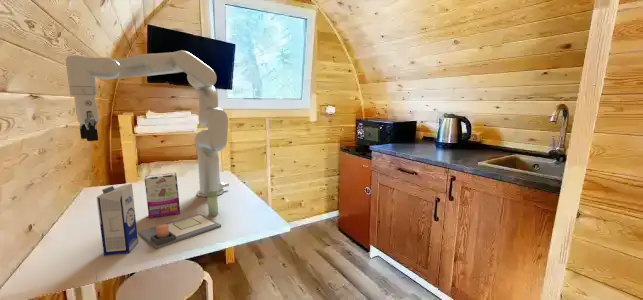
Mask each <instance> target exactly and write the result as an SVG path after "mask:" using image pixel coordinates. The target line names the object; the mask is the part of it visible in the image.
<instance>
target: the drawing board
mask: <svg viewBox="0 0 643 300" xmlns="http://www.w3.org/2000/svg"><path fill="white" fill-rule="evenodd" d="M166 224H168V225H169V235H168V236H166V237H162V238H159V237H157V234H156V227H157V226H158V225H157V226H154V227H150V228H147V229H143V230H140V231H137V234H139V235H140V236H141V238H143V239H144V240H145V241H146V242H148V243H149V244H150V246H152V247H153V248H154V249H156V250H157V249H160V248H162V247H163V248H164V247H165V246H169V245H172V244H174V243H179V242H180V241H183V240H186V239H190V238H191V237H192V238H193V237H195V236H198V235H200V234H204V233H206V232H209V231H214V230H215V229H218V228H221V227H222V224H221V223H218V221H215V220H214V219H211V218H209V217H208V216H205V215H203V214H201V213H197V214H194V215H191V216H188V217H184V218H181V219H178V220H175V221H170V222H167V223H166Z"/></svg>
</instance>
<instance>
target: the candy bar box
mask: <svg viewBox="0 0 643 300" xmlns="http://www.w3.org/2000/svg"><path fill="white" fill-rule="evenodd" d="M177 177H178V175H177V172H169V173H167V172H166V173H160V174H158V173H157V174H150V175H145V177H144V185H145V193H146V203H147V211H148V219H155V218H161V217H167V216H172V215H173V216H174V215H179V214H181V208H180V198H179V196H180V195H179V188H178V187H179V185H178V178H177Z"/></svg>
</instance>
